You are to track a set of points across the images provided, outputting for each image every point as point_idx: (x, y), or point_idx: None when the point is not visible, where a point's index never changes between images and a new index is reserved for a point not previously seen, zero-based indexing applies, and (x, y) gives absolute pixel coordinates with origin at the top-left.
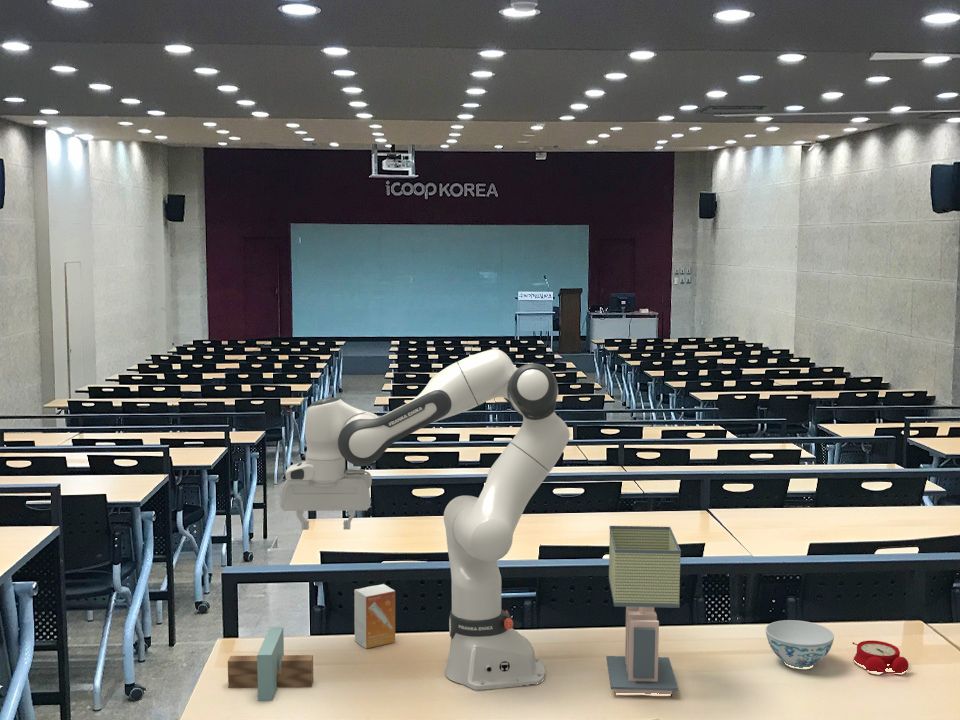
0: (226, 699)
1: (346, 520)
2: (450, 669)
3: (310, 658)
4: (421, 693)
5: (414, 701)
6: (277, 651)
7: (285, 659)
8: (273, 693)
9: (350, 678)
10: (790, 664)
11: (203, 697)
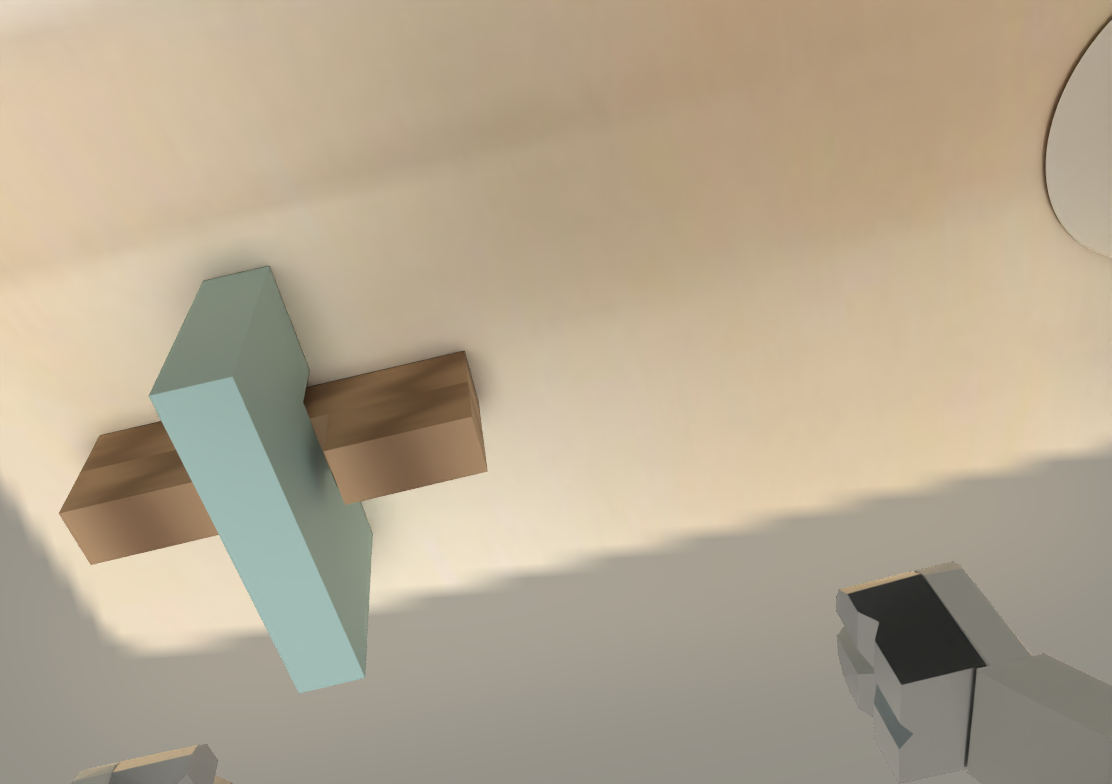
0: (187, 563)
1: (949, 681)
2: (1090, 220)
3: (475, 454)
4: (933, 358)
5: (906, 423)
6: (315, 517)
7: (359, 488)
8: (364, 525)
9: (620, 289)
10: None
11: (84, 570)
